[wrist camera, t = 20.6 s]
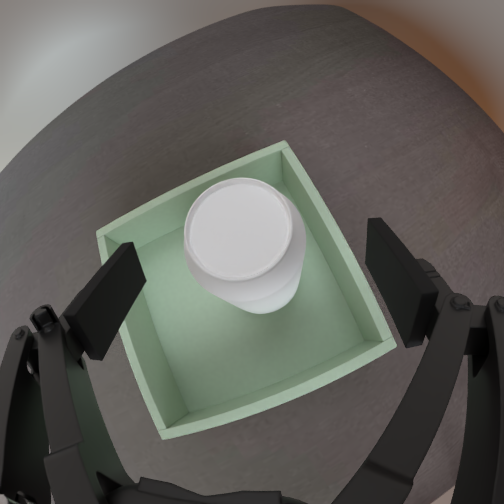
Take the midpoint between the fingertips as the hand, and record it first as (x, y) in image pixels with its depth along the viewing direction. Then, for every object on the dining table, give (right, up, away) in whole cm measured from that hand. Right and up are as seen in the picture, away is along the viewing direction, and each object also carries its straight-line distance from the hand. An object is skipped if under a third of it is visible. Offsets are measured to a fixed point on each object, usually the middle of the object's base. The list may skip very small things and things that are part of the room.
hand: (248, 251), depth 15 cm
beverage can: (+1, -2, +9) cm, 9 cm away
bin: (-1, -4, +9) cm, 10 cm away
